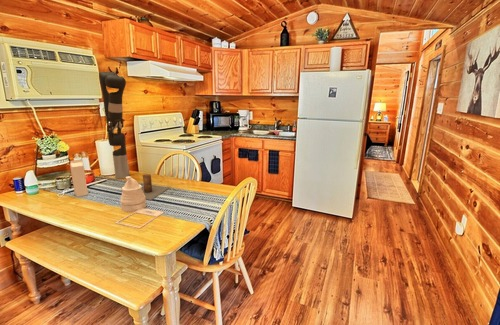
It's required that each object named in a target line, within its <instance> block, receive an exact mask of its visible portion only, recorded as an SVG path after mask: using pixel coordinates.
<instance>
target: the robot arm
mask: <svg viewBox="0 0 500 325" xmlns="http://www.w3.org/2000/svg"><path fill="white" fill-rule="evenodd" d="M98 79H99V84H100V88H101V93H102V101H103V108H104V114H105V119H106V121H105V122H106V132H107V137H108V138H107V139H108V144H109V146H111V147H118V146H119V148H117V149H115V150H113V151H112V161H113V166H114V168H113V169H114V175H115V178H116V179H126V177H128V176H131V175H130V174H131V173H130V164H129V163H128V156H127V155H128V154H127V146H126V144H127V143H126V135H125V133H124V132H122V130H123V128H124V118H123V117H124V116H123V114H124V113H123V112H124V111H123V110H124V108H123V97H124V96H123V94H124V90H125V88H126V85H127V80H126V79H125V77H123V76H120V75H118V74H117V73H116V72H114V71H100V72H99V73H98ZM108 88H110V89H115V90H116V89H117V91H111V92H109V90H108ZM115 131H116V132H115Z"/></svg>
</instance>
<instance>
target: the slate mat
mask: <svg viewBox="0 0 500 325" xmlns="http://www.w3.org/2000/svg"><path fill="white" fill-rule="evenodd" d="M141 189H142V190H143V193H144V195H145V197H146V201H153V200H154V199H156V198H157V197H159V196H160V195H162V194H163V193H164V192H166V191H167V190H169V189H171V187H170V186H161V185H152V192H150V193H145V192H144V185H143V186H142V188H141Z"/></svg>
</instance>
